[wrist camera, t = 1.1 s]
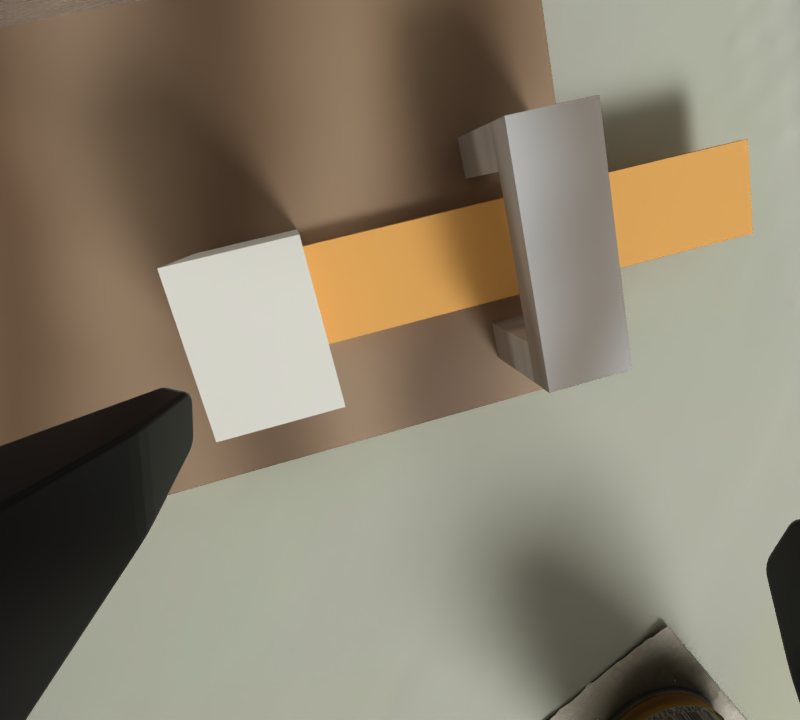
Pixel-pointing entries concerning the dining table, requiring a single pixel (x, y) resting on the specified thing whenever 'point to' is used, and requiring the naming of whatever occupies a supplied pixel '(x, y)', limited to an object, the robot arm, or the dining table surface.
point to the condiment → (653, 688)
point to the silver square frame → (48, 9)
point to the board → (292, 201)
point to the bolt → (402, 283)
